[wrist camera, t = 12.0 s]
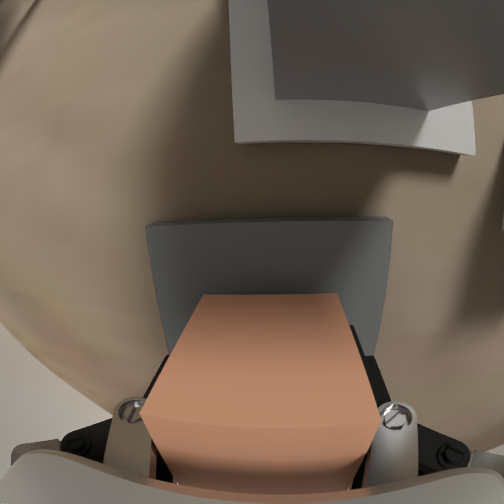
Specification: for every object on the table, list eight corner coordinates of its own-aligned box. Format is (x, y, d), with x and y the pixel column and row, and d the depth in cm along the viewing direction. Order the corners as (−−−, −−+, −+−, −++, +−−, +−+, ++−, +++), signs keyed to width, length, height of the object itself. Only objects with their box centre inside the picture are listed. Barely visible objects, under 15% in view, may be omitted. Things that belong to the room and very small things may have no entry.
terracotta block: (325, 388, 12) (338, 503, 6) (217, 388, 12) (187, 497, 6) (336, 293, 10) (381, 419, 4) (203, 294, 11) (139, 413, 5)
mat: (358, 392, 14) (360, 402, 13) (186, 391, 15) (182, 400, 14) (386, 216, 11) (392, 220, 10) (153, 222, 12) (145, 226, 11)
